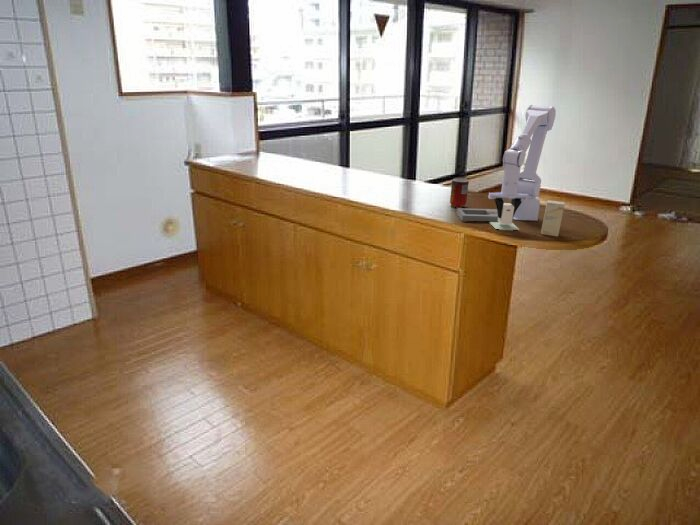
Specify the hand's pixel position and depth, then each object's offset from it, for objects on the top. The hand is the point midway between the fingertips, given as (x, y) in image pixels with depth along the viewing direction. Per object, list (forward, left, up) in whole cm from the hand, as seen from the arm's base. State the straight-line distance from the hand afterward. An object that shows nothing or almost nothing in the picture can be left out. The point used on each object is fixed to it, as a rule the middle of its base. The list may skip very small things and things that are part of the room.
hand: (505, 217), depth 195 cm
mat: (0, 0, -4) cm, 4 cm away
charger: (0, 0, -2) cm, 2 cm away
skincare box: (-15, +7, -4) cm, 17 cm away
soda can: (+12, -30, -4) cm, 32 cm away
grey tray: (+5, -12, -4) cm, 13 cm away
